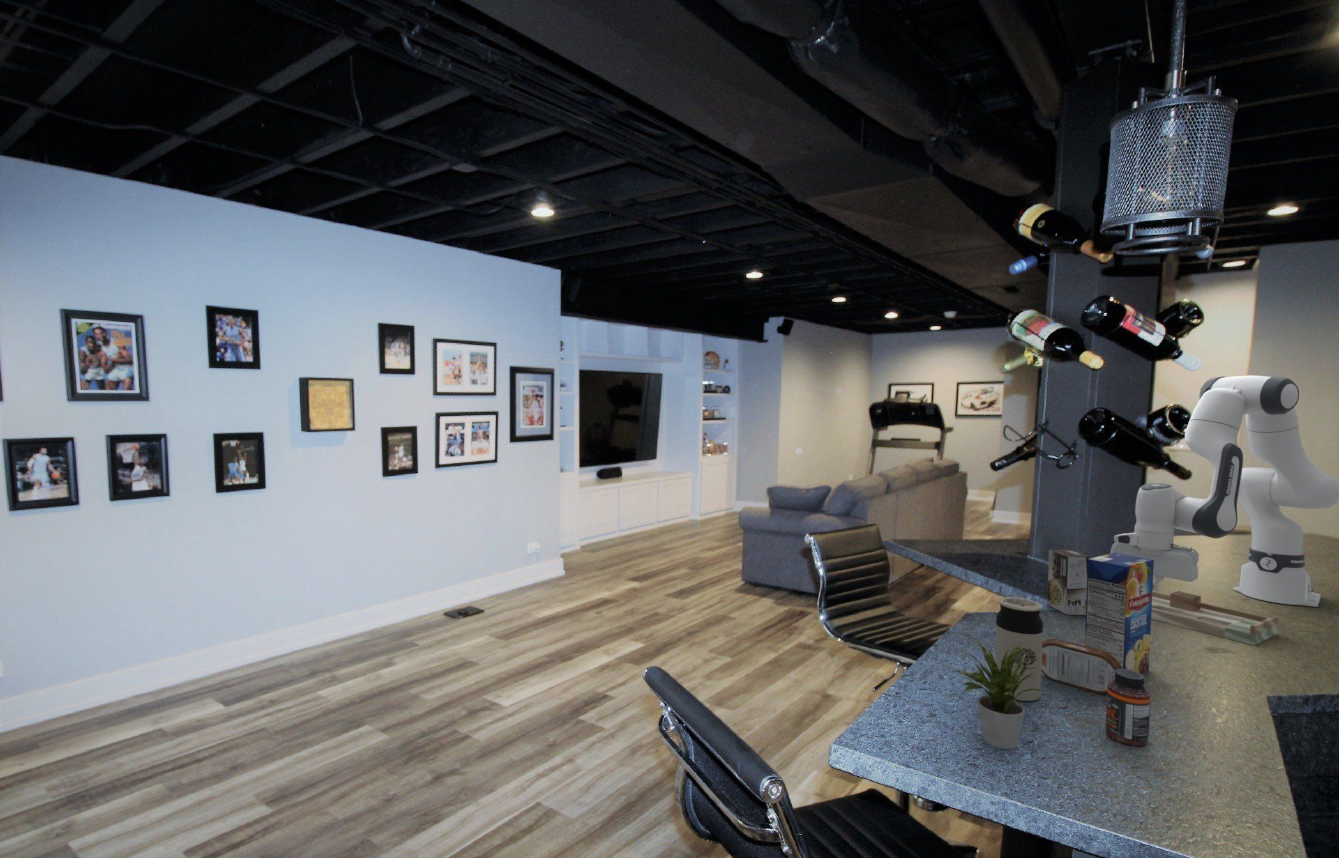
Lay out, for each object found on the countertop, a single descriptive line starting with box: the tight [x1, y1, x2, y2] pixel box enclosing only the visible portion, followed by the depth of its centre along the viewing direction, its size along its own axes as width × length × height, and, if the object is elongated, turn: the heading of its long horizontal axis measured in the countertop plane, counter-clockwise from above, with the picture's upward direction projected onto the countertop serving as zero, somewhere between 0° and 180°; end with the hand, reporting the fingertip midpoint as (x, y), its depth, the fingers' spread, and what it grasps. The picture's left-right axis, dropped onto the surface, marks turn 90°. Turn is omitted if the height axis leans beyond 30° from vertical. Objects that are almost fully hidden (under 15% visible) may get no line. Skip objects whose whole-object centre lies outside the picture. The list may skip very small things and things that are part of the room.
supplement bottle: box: [1105, 669, 1151, 747], centre depth 106 cm, size 6×6×11 cm
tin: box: [1041, 638, 1122, 695], centre depth 126 cm, size 15×3×8 cm, turn 44°
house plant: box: [952, 638, 1046, 750], centre depth 106 cm, size 14×14×16 cm
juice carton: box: [1084, 553, 1154, 675], centre depth 134 cm, size 12×8×24 cm, turn 122°
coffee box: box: [1047, 549, 1092, 616], centre depth 174 cm, size 9×6×16 cm
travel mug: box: [994, 596, 1044, 702], centre depth 122 cm, size 8×8×18 cm
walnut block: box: [1170, 590, 1202, 611], centre depth 170 cm, size 5×5×4 cm
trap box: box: [1151, 591, 1279, 646], centre depth 166 cm, size 15×29×4 cm, turn 30°
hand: (1150, 589), depth 176 cm, fingers closed
